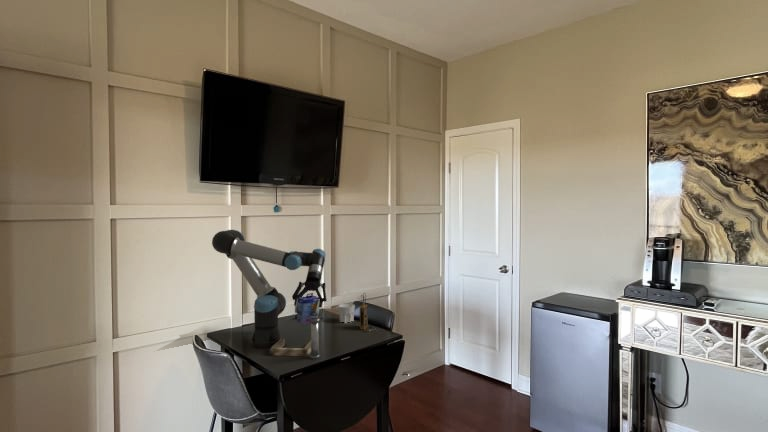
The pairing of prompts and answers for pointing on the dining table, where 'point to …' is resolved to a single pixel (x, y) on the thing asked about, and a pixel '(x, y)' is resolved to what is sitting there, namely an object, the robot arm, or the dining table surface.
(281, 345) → the notched board
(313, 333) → the bobbin post
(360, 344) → the dining table surface
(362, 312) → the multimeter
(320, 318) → the disk drive
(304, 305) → the ink cartridge box
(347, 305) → the cup
